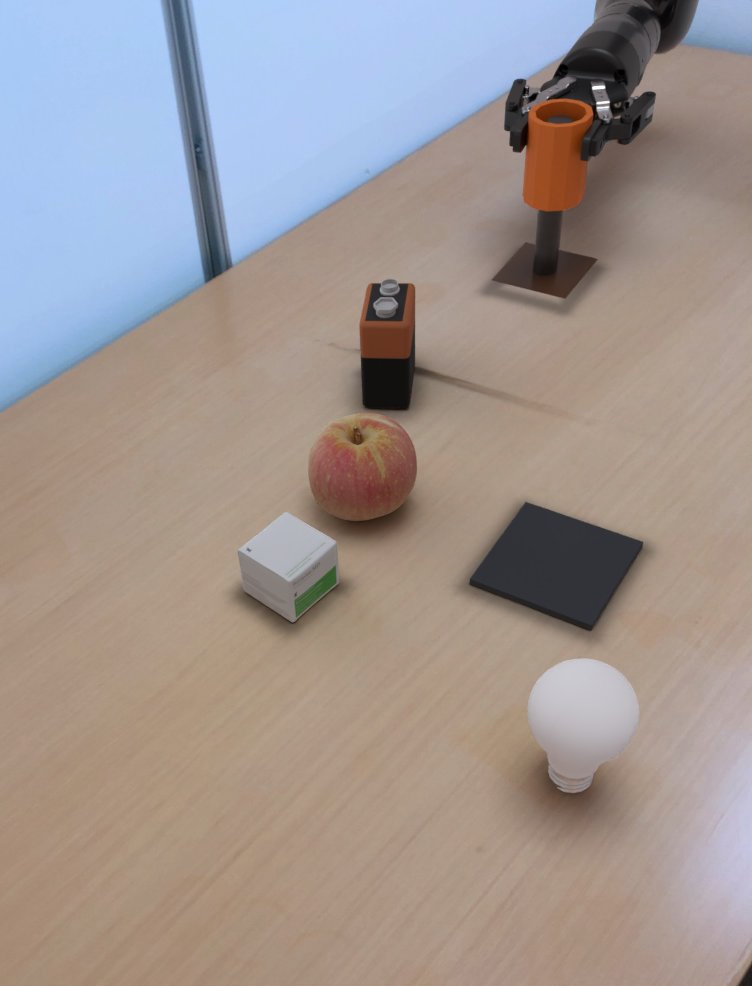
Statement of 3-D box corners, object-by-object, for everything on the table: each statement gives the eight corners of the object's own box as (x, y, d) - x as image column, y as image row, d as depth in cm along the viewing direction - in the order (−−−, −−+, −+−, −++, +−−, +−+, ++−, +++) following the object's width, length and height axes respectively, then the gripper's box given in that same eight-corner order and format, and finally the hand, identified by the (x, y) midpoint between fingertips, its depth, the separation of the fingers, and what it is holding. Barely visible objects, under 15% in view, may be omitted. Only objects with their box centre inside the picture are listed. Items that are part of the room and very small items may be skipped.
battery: (361, 410, 101) (357, 315, 94) (370, 365, 105) (366, 271, 98) (409, 411, 100) (409, 315, 93) (415, 366, 105) (416, 272, 97)
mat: (642, 547, 86) (643, 541, 86) (590, 630, 81) (592, 625, 81) (525, 506, 91) (525, 501, 90) (469, 584, 86) (469, 578, 85)
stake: (596, 267, 113) (619, 109, 101) (564, 307, 109) (583, 147, 97) (524, 250, 116) (538, 95, 104) (490, 288, 112) (500, 131, 100)
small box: (293, 625, 85) (288, 582, 81) (241, 592, 87) (234, 548, 84) (342, 584, 87) (339, 539, 83) (290, 552, 90) (285, 507, 86)
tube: (592, 188, 106) (602, 104, 100) (568, 216, 103) (577, 130, 97) (538, 178, 108) (545, 94, 102) (513, 204, 105) (518, 120, 99)
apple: (431, 523, 90) (432, 447, 84) (329, 552, 89) (323, 477, 83) (394, 460, 96) (392, 384, 90) (297, 486, 95) (289, 411, 89)
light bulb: (574, 843, 70) (596, 743, 62) (497, 779, 74) (508, 677, 66) (641, 783, 73) (671, 679, 64) (563, 724, 76) (582, 619, 68)
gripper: (535, 23, 109) (476, 96, 99) (683, 35, 104) (636, 113, 94) (529, 100, 114) (473, 176, 105) (670, 115, 109) (624, 196, 100)
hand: (550, 146), depth 100 cm, fingers closed on tube, 5 cm apart
